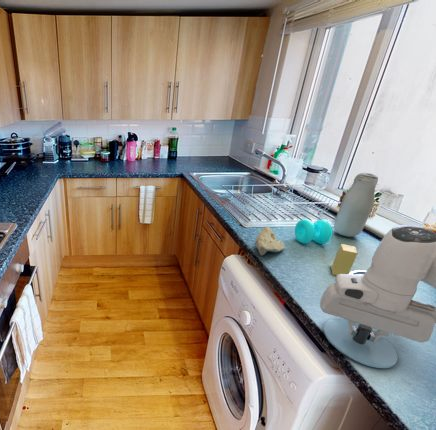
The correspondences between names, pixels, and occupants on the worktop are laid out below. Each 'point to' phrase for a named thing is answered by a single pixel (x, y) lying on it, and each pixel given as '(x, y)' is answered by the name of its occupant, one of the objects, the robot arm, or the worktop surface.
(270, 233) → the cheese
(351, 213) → the grey bottle
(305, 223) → the donuts
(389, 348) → the pot lid
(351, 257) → the butter
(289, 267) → the worktop surface
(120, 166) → the worktop surface
